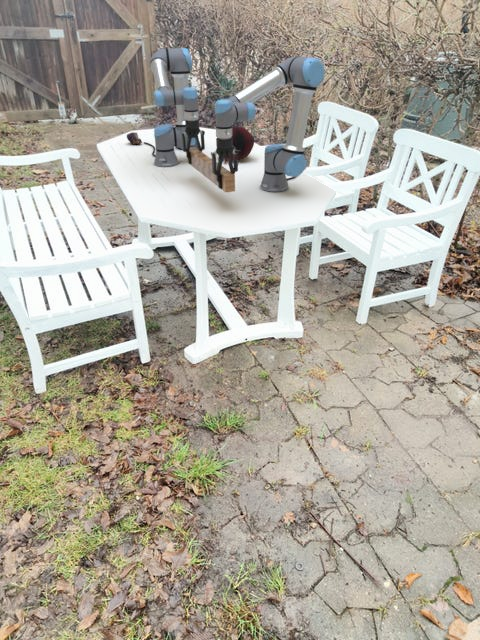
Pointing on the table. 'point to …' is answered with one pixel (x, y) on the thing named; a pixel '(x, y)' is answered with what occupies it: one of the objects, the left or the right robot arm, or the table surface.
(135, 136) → the rock
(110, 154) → the table surface
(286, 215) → the table surface
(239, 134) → the decorative skull
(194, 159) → the post
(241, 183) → the table surface
